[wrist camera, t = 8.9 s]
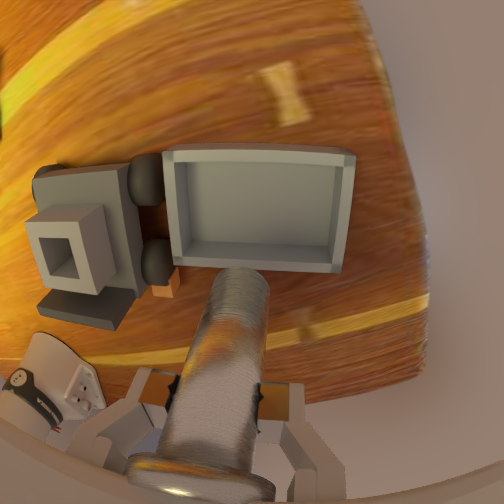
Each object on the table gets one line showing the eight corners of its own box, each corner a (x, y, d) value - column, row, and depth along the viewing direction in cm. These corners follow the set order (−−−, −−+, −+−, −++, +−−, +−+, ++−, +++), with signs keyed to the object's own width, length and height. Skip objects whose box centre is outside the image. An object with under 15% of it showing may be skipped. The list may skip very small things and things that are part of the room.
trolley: (180, 282, 35) (146, 351, 25) (79, 273, 36) (33, 326, 26) (166, 149, 28) (107, 178, 18) (55, 161, 29) (-13, 192, 19)
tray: (333, 251, 31) (340, 273, 27) (186, 244, 33) (173, 265, 29) (345, 148, 26) (356, 156, 22) (178, 143, 28) (162, 151, 24)
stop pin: (274, 329, 16) (258, 528, 7) (197, 315, 17) (133, 502, 7) (292, 262, 14) (292, 507, 5) (202, 246, 14) (100, 467, 5)
